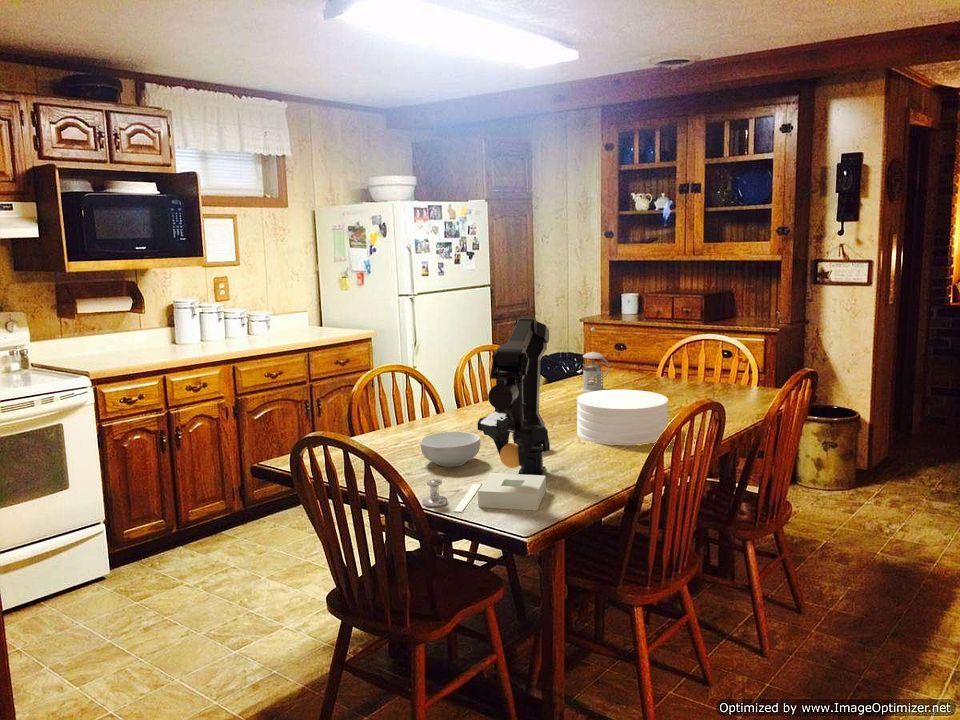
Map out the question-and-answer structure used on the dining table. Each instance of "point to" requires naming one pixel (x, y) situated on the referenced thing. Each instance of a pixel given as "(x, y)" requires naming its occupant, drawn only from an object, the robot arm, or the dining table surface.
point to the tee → (434, 495)
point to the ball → (510, 455)
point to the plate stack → (621, 416)
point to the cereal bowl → (450, 447)
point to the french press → (593, 373)
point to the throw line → (467, 498)
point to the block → (512, 491)
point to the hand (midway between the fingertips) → (512, 463)
